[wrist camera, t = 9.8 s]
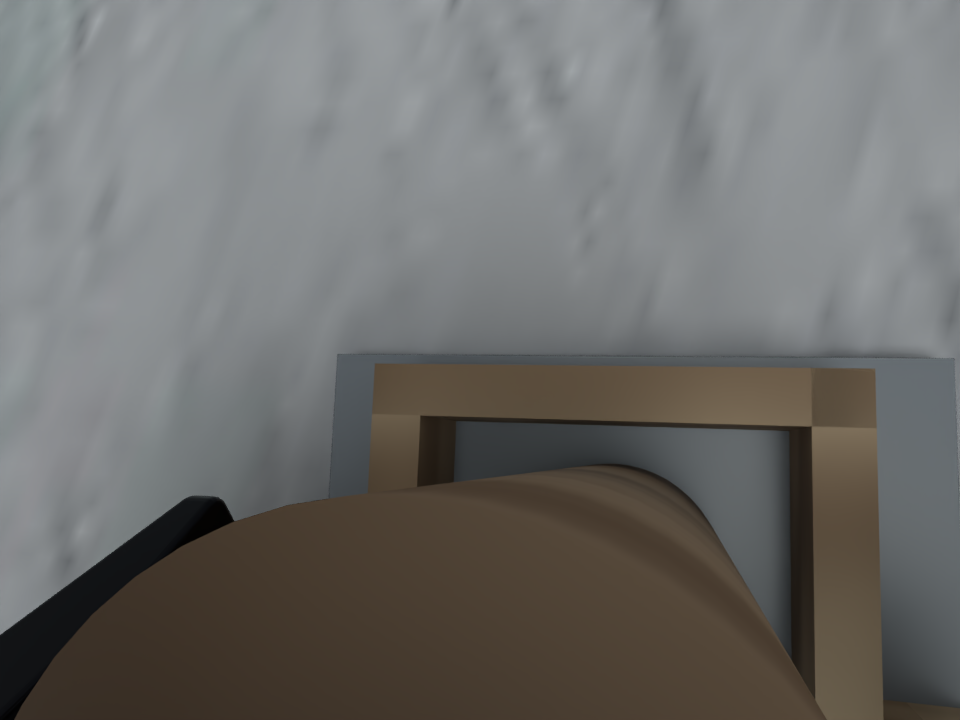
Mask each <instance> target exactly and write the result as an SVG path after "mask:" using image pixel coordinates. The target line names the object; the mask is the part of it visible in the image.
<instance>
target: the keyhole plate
mask: <svg viewBox="0 0 960 720" xmlns="http://www.w3.org/2000/svg"><path fill="white" fill-rule="evenodd" d="M596 464H622V465H630V466H634V467H638V468H642V469H645V470H647V471H650V472H653V473H655V474H657V475H659V476H661V477H663V478H665V479H667V480H669V481H670V482H671V483H673V484H674V485H676V486H677V487H678V488H680V489H681V490H682V491H683V492H684V493H686V494H687V495H688V496H689V497H690V498H691V499H692V500H693V501H694V502H695V504H696V505H697V506H698V507H699V508H700V509H701V511H702V512H703V514H704V515H705V517H706V518H707V520H708V521H709V523H710V524H711V526H712V528H713V529H714V531H715V533H716V534H717V536H718V538H719V539H720V541H721V543H722V544H723V546H724V548H725V550H726V551H727V553H728V555H729V556H730V558H731V560H732V561H733V563H734V565H735V566H736V568H737V570H738V571H739V573H740V575H741V576H742V578H743V580H744V581H745V583H746V585H747V586H748V588H749V590H750V591H751V593H752V595H753V597H754V598H755V600H756V602H757V603H758V605H759V607H760V608H761V610H762V612H763V613H764V615H765V617H766V618H767V620H768V622H769V623H770V625H771V627H772V628H773V630H774V632H775V633H776V635H777V637H778V638H779V640H780V642H781V644H782V645H783V647H784V649H785V650H786V652H787V654H788V655H789V657H790V659H791V660H792V662H793V664H794V665H795V667H796V669H797V670H798V672H799V674H800V675H801V677H802V679H803V680H804V682H805V684H806V686H807V687H808V689H809V691H810V692H811V694H812V696H813V697H814V699H815V701H816V702H817V704H818V706H819V707H820V709H821V711H822V712H823V714H824V716H825V717H826V719H827V720H960V504H959V476H958V448H957V420H956V392H955V364H954V358H818V357H675V356H531V355H387V354H338V355H337V372H336V388H335V404H334V421H333V437H332V453H331V470H330V486H329V499H330V498H336V497H343V496H350V495H358V494H366V493H374V492H382V491H390V490H397V489H405V488H413V487H421V486H429V485H437V484H445V483H453V482H461V481H469V480H477V479H485V478H493V477H501V476H508V475H516V474H524V473H532V472H540V471H548V470H556V469H564V468H572V467H580V466H588V465H596Z"/></svg>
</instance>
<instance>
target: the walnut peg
mask: <svg viewBox="0 0 960 720" xmlns="http://www.w3.org/2000/svg"><path fill="white" fill-rule="evenodd" d="M14 720H827V719H826V717H825V716H824V714H823V712H822V711H821V709H820V707H819V706H818V704H817V702H816V701H815V699H814V697H813V696H812V694H811V692H810V691H809V689H808V687H807V686H806V684H805V682H804V680H803V679H802V677H801V675H800V674H799V672H798V670H797V669H796V667H795V665H794V664H793V662H792V660H791V659H790V657H789V655H788V654H787V652H786V650H785V649H784V647H783V645H782V644H781V642H780V640H779V638H778V637H777V635H776V633H775V632H774V630H773V628H772V627H771V625H770V623H769V622H768V620H767V618H766V617H765V615H764V613H763V612H762V610H761V608H760V607H759V605H758V603H757V602H756V600H755V598H754V597H753V595H752V593H751V591H750V590H749V588H748V586H747V585H746V583H745V581H744V580H743V578H742V576H741V575H740V573H739V571H738V570H737V568H736V566H735V565H734V563H733V561H732V560H731V558H730V556H729V555H728V553H727V551H726V550H725V548H724V546H723V544H722V543H721V541H720V539H719V538H718V536H717V534H716V533H715V531H714V529H713V528H712V526H711V524H710V523H709V521H708V520H707V518H706V517H705V515H704V514H703V512H702V511H701V509H700V508H699V507H698V506H697V505H696V504H695V502H694V501H693V500H692V499H691V498H690V497H689V496H688V495H687V494H686V493H684V492H683V491H682V490H681V489H680V488H678V487H677V486H676V485H674V484H673V483H671V482H670V481H669V480H667V479H665V478H663V477H661V476H659V475H657V474H655V473H653V472H650V471H647V470H645V469H642V468H638V467H634V466H630V465H622V464H596V465H588V466H580V467H572V468H564V469H556V470H548V471H540V472H532V473H524V474H516V475H508V476H501V477H493V478H485V479H477V480H469V481H461V482H453V483H445V484H437V485H429V486H421V487H413V488H405V489H397V490H390V491H382V492H374V493H366V494H358V495H350V496H343V497H336V498H330V499H324V500H317V501H311V502H305V503H298V504H292V505H286V506H283V507H280V508H277V509H274V510H270V511H267V512H264V513H261V514H257V515H254V516H251V517H248V518H244V519H241V520H238V521H235V522H232V523H230V524H228V525H226V526H223V527H221V528H219V529H217V530H215V531H213V532H211V533H209V534H207V535H205V536H202V537H200V538H198V539H196V540H194V541H192V542H190V543H188V544H186V545H183V546H181V547H180V548H178V549H177V550H175V551H174V552H172V553H171V554H169V555H168V556H166V557H165V558H163V559H162V560H160V561H159V562H157V563H156V564H154V565H153V566H151V567H150V568H148V569H147V570H145V571H143V572H142V573H140V574H139V575H137V576H136V577H134V578H133V579H132V580H131V581H130V582H129V583H128V584H126V585H125V586H124V587H123V588H122V589H121V590H120V591H118V592H117V593H116V594H115V595H114V596H113V597H112V598H110V599H109V600H108V601H107V602H106V603H105V604H104V605H102V606H101V607H100V608H99V609H98V610H97V611H96V612H94V613H93V614H92V615H91V616H90V618H89V619H88V620H87V621H86V622H85V623H84V624H83V626H82V627H81V628H80V629H79V630H78V631H77V632H76V633H75V635H74V636H73V637H72V638H71V639H70V640H69V641H68V643H67V644H66V645H65V646H64V647H63V648H62V649H61V650H60V652H59V653H58V654H57V655H56V656H55V657H54V659H53V660H52V662H51V663H50V665H49V666H48V668H47V669H46V671H45V672H44V673H43V675H42V676H41V678H40V679H39V681H38V682H37V684H36V685H35V687H34V688H33V690H32V691H31V693H30V694H29V695H28V697H27V698H26V700H25V701H24V703H23V704H22V706H21V708H20V710H19V712H18V714H17V716H16V717H15V719H14Z"/></svg>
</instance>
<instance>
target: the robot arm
mask: <svg viewBox="0 0 960 720" xmlns="http://www.w3.org/2000/svg"><path fill="white" fill-rule="evenodd" d="M232 522H234V520H233V518H232V516H231V514H230V512H229V510H228V508H227V506H226V504H225V503H224V501H223V500H222V499H220V498H219V497H213V496H190V497H188V498H186V499H184V500H183V501H181V502H180V503H178V504H177V505H176V506H174V507H173V508H172V509H170V510H169V511H168V512H166V513H165V514H164V515H162V516H161V517H159V518H158V519H157V520H155V521H154V522H153V523H151V524H150V525H149V526H147V527H146V528H145V529H143V530H142V531H141V532H139V533H138V534H136V535H135V536H134V537H132V538H131V539H130V540H128V541H127V542H126V543H124V544H123V545H122V546H120V547H119V548H117V549H116V550H115V551H113V552H112V553H111V554H109V555H108V556H107V557H105V558H104V559H103V560H101V561H100V562H99V563H97V564H96V565H94V566H93V567H92V568H90V569H89V570H88V571H86V572H85V573H84V574H82V575H81V576H80V577H78V578H77V579H75V580H74V581H73V582H71V583H70V584H69V585H67V586H66V587H65V588H63V589H62V590H61V591H59V592H58V593H56V594H55V595H54V596H52V597H51V598H50V599H48V600H47V601H46V602H44V603H43V604H42V605H40V606H39V607H38V608H36V609H35V610H33V611H32V612H31V613H29V614H28V615H27V616H25V617H24V618H23V619H21V620H20V621H19V622H17V623H16V624H14V625H13V626H12V627H10V628H9V629H8V630H6V631H5V632H4V633H2V634H1V635H0V720H14V719H15V717H16V716H17V714H18V712H19V710H20V708H21V706H22V704H23V703H24V701H25V700H26V698H27V697H28V695H29V694H30V693H31V691H32V690H33V688H34V687H35V685H36V684H37V682H38V681H39V679H40V678H41V676H42V675H43V673H44V672H45V671H46V669H47V668H48V666H49V665H50V663H51V662H52V660H53V659H54V657H55V656H56V655H57V654H58V653H59V652H60V650H61V649H62V648H63V647H64V646H65V645H66V644H67V643H68V641H69V640H70V639H71V638H72V637H73V636H74V635H75V633H76V632H77V631H78V630H79V629H80V628H81V627H82V626H83V624H84V623H85V622H86V621H87V620H88V619H89V618H90V616H91V615H92V614H93V613H94V612H96V611H97V610H98V609H99V608H100V607H101V606H102V605H104V604H105V603H106V602H107V601H108V600H109V599H110V598H112V597H113V596H114V595H115V594H116V593H117V592H118V591H120V590H121V589H122V588H123V587H124V586H125V585H126V584H128V583H129V582H130V581H131V580H132V579H133V578H134V577H136V576H137V575H139V574H140V573H142V572H143V571H145V570H147V569H148V568H150V567H151V566H153V565H154V564H156V563H157V562H159V561H160V560H162V559H163V558H165V557H166V556H168V555H169V554H171V553H172V552H174V551H175V550H177V549H178V548H180V547H181V546H183V545H186V544H188V543H190V542H192V541H194V540H196V539H198V538H200V537H202V536H205V535H207V534H209V533H211V532H213V531H215V530H217V529H219V528H221V527H223V526H226V525H228V524H230V523H232Z"/></svg>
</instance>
